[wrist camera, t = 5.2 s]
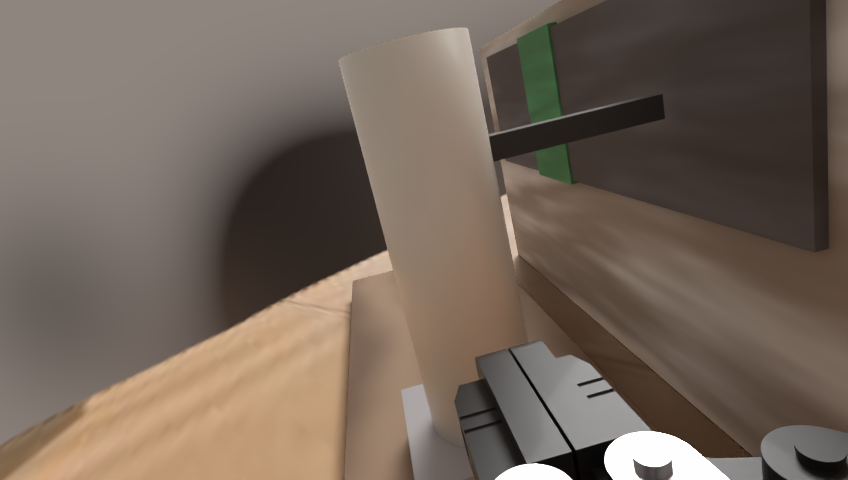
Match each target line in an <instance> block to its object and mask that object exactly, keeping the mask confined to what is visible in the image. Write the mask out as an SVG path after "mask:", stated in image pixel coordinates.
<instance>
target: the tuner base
mask: <svg viewBox="0 0 848 480" xmlns="http://www.w3.org/2000/svg"><path fill="white" fill-rule="evenodd" d="M480 53H481V59H482V64H483V69H484V74H485V80H486V85H487V90H488V95H489V101H490V106H491V111H492V117H493V122H494V128H495V133H496V132H500V131H504V130H508V129H512V128H516V127H520V126H524V125H528V124H532V123H537V122H541V121H545V120H549V119H553V118H557V117H561V116H565V115H569V114H573V113H577V112H581V111H585V110H589V109H593V108H597V107H602V106H606V105H610V104H614V103H618V102H622V101H626V100H630V99H634V98H638V97H642V96H646V95H654V94H663V102H664V112H665V119H662V120H658V121H654V122H650V123H646V124H642V125H638V126H634V127H630V128H626V129H622V130H618V131H614V132H610V133H606V134H602V135H598V136H594V137H590V138H586V139H582V140H578V141H574V142H570V143H566V144H562V145H558V146H554V147H550V148H546V149H542V150H538V151H534V152H530V153H526V154H522V155H518V156H514V157H510V158H506V159H502V160H501V165H502V170H503V175H504V181H505V186H506V191H507V197H508V202H509V207H510V213H511V218H512V223H513V229H514V234H515V239H516V244H517V250H518V254H519V255H520V256H521V257H522V258H523V259H524V260H526V261H527V262H528V263H529V264H530V265H531V266H533V267H534V268H535V269H536V270H537V271H538V272H540V273H541V274H542V275H543V276H544V277H545V278H546V279H548V280H549V281H550V282H551V283H552V284H553V285H555V286H556V287H557V288H558V289H559V290H560V291H562V292H563V293H564V294H565V295H566V296H567V297H569V298H570V299H571V300H572V301H573V302H574V303H575V304H577V305H578V306H579V307H580V308H581V309H582V310H584V311H585V312H586V313H587V314H588V315H589V316H591V317H592V318H593V319H594V320H595V321H596V322H598V323H599V324H600V325H601V326H602V327H603V328H604V329H606V330H607V331H608V332H609V333H610V334H611V335H613V336H614V337H615V338H616V339H617V340H618V341H620V342H621V343H622V344H623V345H624V346H625V347H626V348H628V349H629V350H630V351H631V352H632V353H633V354H635V355H636V356H637V357H638V358H639V359H640V360H642V361H643V362H644V363H645V364H646V365H647V366H649V367H650V368H651V369H652V370H653V371H654V372H655V373H657V374H658V375H659V376H660V377H661V378H662V379H664V380H665V381H666V382H667V383H668V384H669V385H671V386H672V387H673V388H674V389H675V390H676V391H678V392H679V393H680V394H681V395H682V396H683V397H684V398H686V399H687V400H688V401H689V402H690V403H691V404H693V405H694V406H695V407H696V408H697V409H698V410H700V411H701V412H702V413H703V414H704V415H705V416H707V417H708V418H709V419H710V420H711V421H712V422H713V423H715V424H716V425H717V426H718V427H719V428H720V429H722V430H723V431H724V432H725V433H726V434H727V435H729V436H730V437H731V438H732V439H733V440H734V441H736V442H737V443H738V444H739V445H740V446H741V447H742V448H744V449H745V450H746V451H747V452H748V453H749V454H751V455H752V456H753V457H761V443H762V440H763V439H764V437H765V436H766V435H767V434H768V433H770V432H771V431H773V430H775V429H778V428H781V427H786V426H793V425H809V426H817V427H823V428H828V429H832V430H836V431H840V432H844V433H848V0H561V1H559V2H558V3H556V4H554V5H553V6H551V7H549V8H547V9H546V10H544V11H542V12H541V13H539V14H537V15H535V16H534V17H532V18H530V19H528V20H527V21H525V22H523V23H522V24H520V25H518V26H517V27H515V28H514V29H511V30H510V31H508V32H506V33H504V34H503V35H501V36H500V37H498V38H496V39H494V40H492V41H491V42H489V43H487V44H486V45H484V46H483V47H480ZM517 286H518V291H519V297H520V302H521V307H522V312H523V317H524V323H525V328H526V333H527V338H528V342H532V341H536V340H541V341H542V342H543V343H544V344H545V345H546V347H547V348H548V349H549V350H550V352H551V353H552V354H553V355H554V357H555V358H560V357H563V356H567V355H572V356H574V357H576V358H579V359H581V360H583V361H585V362H587V363H590V364H591V365H592V367H593V368H594V369H595V370H596V371H597V372H598V373H599V374H600V375H601V376H602V378H603V380H605V381H606V382H607V383H608V384H609V385H610V386H611V387H612V388H613V391H614V392H615V391H616V392H617V394H618V395H619V396H620V397H621V398H622V399H623V400H624V401H625V402H626V403H627V404H628V405H629V406H630V408H631V409H632V410H633V411H634V412H635V413H636V414H637V415H638V416H639V417H640V418H641V419H642V420H643V422H644V423H645V424H646V425H647V426H648V427H649V428H650V429H651V430H652V431H653V432H657V433H660V432H659V430H658V429H657V428H656V427H655V426H654V425H653V424H652V423H651V422H650V421H649V420H648V419H647V418H646V417H645V416H644V415H643V414H642V413H641V412H640V411H639V410H638V408H637V407H636V406H635V405H634V404H633V403H632V402H631V401H630V400H629V399H628V398H627V397H626V396H625V395H624V394H623V393H622V392H621V391H620V390H619V389H618V388H617V386H616V385H615V384H614V383H613V382H612V381H611V380H610V379H609V378H608V377H607V376H606V375H605V374H604V373H603V372H602V371H601V370H600V369H599V368H598V367H597V366H596V364H595V363H594V362H593V361H592V360H591V359H590V358H589V357H588V356H587V355H586V354H585V353H584V352H583V351H582V350H581V349H580V348H579V347H578V346H577V345H576V343H575V342H574V341H573V340H572V339H571V338H570V337H569V336H568V335H567V334H566V333H565V332H564V331H563V330H562V329H561V328H560V327H559V326H558V325H557V324H556V323H555V321H554V320H553V319H552V318H551V317H550V316H549V315H548V314H547V313H546V312H545V311H544V310H543V309H542V308H541V307H540V306H539V305H538V304H537V303H536V302H535V301H534V299H533V298H532V297H531V296H530V295H529V294H528V293H527V292H526V291H525V290H524V289H523V288H522V287H521V286H520V285H519V284H518V283H517ZM420 384H423V382H422V379H421V375H420V371H419V367H418V363H417V359H416V356H415V352H414V348H413V344H412V340H411V336H410V333H409V329H408V325H407V321H406V317H405V314H404V310H403V306H402V302H401V298H400V294H399V291H398V287H397V283H396V279H395V275H394V271H390V272H386V273H382V274H378V275H374V276H371V277H367V278H363V279H359V280H355V281H353V289H352V312H351V334H350V357H349V380H348V402H347V425H346V448H345V470H344V480H415V479H414V473H413V466H412V459H411V453H410V446H409V439H408V433H407V426H406V419H405V413H404V406H403V400H402V393H401V390H402V389H406V388H410V387H413V386H417V385H420Z"/></svg>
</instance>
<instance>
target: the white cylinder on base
mask: <svg viewBox="0 0 848 480" xmlns="http://www.w3.org/2000/svg"><path fill="white" fill-rule="evenodd" d="M339 65H340V69H341V73H342V76H343V80H344V84H345V88H346V92H347V95H348V99H349V103H350V107H351V111H352V115H353V118H354V122H355V126H356V130H357V134H358V137H359V141H360V145H361V149H362V153H363V157H364V161H365V164H366V168H367V172H368V176H369V180H370V184H371V187H372V191H373V195H374V199H375V203H376V206H377V210H378V214H379V218H380V221H381V226H382V229H383V233H384V237H385V241H386V245H387V248H388V252H389V256H390V260H391V264H392V268H393V271H394V275H395V279H396V283H397V287H398V291H399V294H400V298H401V302H402V306H403V310H404V314H405V317H406V321H407V325H408V329H409V333H410V336H411V340H412V344H413V348H414V352H415V356H416V359H417V363H418V367H419V371H420V375H421V379H422V382H423V384H420V385H417V386H413V387H410V388H406V389H402V390H401V393H402V400H403V406H404V413H405V419H406V426H407V433H408V439H409V446H410V453H411V459H412V466H413V473H414V479H415V480H475V479H474V476H473V473H472V470H471V466H470V463H469V460H468V456H467V452H466V448H465V444H464V440H463V436H462V431H461V427H460V423H459V419H458V415H457V411H456V407H455V403H454V400H455V397H456V394H457V391H458V387H459V385H463V384H466V383H470V382H473V381H477V380H479V377H478V372H477V368H476V363H475V357H478V356H481V355H485V354H489V353H492V352H496V351H500V350H503V349H507V350H508V348H510V347H514V346H517V345H521V344H525V343H528V338H527V333H526V328H525V323H524V317H523V312H522V307H521V302H520V297H519V291H518V286H517V281H516V276H515V271H514V265H513V260H512V255H511V250H510V245H509V239H508V234H507V229H506V224H505V219H504V213H503V208H502V203H501V198H500V193H499V188H498V183H497V177H496V172H495V167H494V161H498V160H502V159H506V158H510V157H514V156H518V155H522V154H526V153H530V152H534V151H538V150H542V149H546V148H550V147H554V146H558V145H562V144H566V143H570V142H574V141H578V140H582V139H586V138H590V137H594V136H598V135H602V134H606V133H610V132H614V131H618V130H622V129H626V128H630V127H634V126H638V125H642V124H646V123H650V122H654V121H658V120H662V119H665V112H664V102H663V94H654V95H646V96H642V97H638V98H634V99H630V100H626V101H622V102H618V103H614V104H610V105H606V106H602V107H597V108H593V109H589V110H585V111H581V112H577V113H573V114H569V115H565V116H561V117H557V118H553V119H549V120H545V121H541V122H537V123H532V124H528V125H524V126H520V127H516V128H512V129H508V130H504V131H500V132H496V133H492V134H488V130H487V125H486V120H485V115H484V109H483V105H482V99H481V94H480V89H479V84H478V78H477V73H476V68H475V63H474V58H473V52H472V47H471V42H470V37H469V31H468V29H467V28H450V29H443V30H436V31H431V32H425V33H420V34H416V35H411V36H407V37H403V38H399V39H395V40H391V41H387V42H384V43H380V44H377V45H373V46H370V47H367V48H364V49H361V50H359V51H356V52H353V53H351V54H348V55H346V56H344V57H342V58H341V59H339Z"/></svg>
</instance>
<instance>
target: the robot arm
mask: <svg viewBox="0 0 848 480" xmlns="http://www.w3.org/2000/svg"><path fill="white" fill-rule="evenodd" d="M475 363H476V368H477V372H478V377H479V380H477V381H473V382H470V383H466V384H463V385H459V387H458V391H457V394H456V397H455V400H454V403H455V407H456V411H457V415H458V419H459V423H460V427H461V431H462V436H463V440H464V444H465V448H466V452H467V456H468V460H469V463H470V466H471V470H472V473H473V476H474V479H475V480H848V433H844V432H840V431H836V430H832V429H828V428H823V427H817V426H809V425H793V426H786V427H781V428H778V429H775V430H773V431H771V432H770V433H768V434H767V435H766V436H765V437H764V439H763V440H762V443H761V457H745V458H708V457H703V456H702V455H700V454H699V453H698V452H697V451H696V450H695V449H694V448H692V447H691V446H690V445H688V444H687V443H686V442H684V441H682V440H680V439H678V438H676V437H673V436H670V435H667V434H663V433H657V432H653V431H652V430H651V429H650V428H649V427H648V426H647V425H646V424H645V423H644V422H643V420H642V419H641V418H640V417H639V416H638V415H637V414H636V413H635V412H634V411H633V410H632V409H631V408H630V406H629V405H628V404H627V403H626V402H625V401H624V400H623V399H622V398H621V397H620V396H619V395H618V394H617V392H616V391H615V392H614V391H613V388H612V387H611V386H610V385H609V384H608V383H607V382H606V381H605V380H603V378H602V376H601V375H600V374H599V373H598V372H597V371H596V370H595V369H594V368H593V367H592V365H591V364H590V363H587V362H585V361H583V360H581V359H579V358H576V357H574V356H572V355H567V356H563V357H560V358H555V357H554V355H553V354H552V353H551V352H550V350H549V349H548V348H547V347H546V345H545V344H544V343H543V342H542V341H541V340H536V341H532V342H528V343H525V344H521V345H517V346H514V347H510V348H508V350H507V349H503V350H500V351H496V352H492V353H489V354H485V355H481V356H478V357H475Z"/></svg>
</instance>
